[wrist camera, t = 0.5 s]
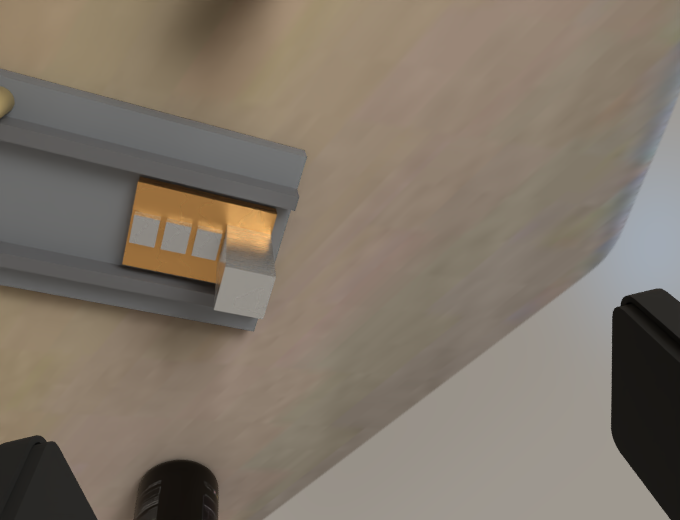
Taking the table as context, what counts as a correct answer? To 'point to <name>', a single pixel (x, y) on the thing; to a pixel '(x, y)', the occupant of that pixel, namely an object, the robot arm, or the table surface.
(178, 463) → the supplement bottle
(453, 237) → the table surface
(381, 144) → the table surface
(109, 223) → the rail board
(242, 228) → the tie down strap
